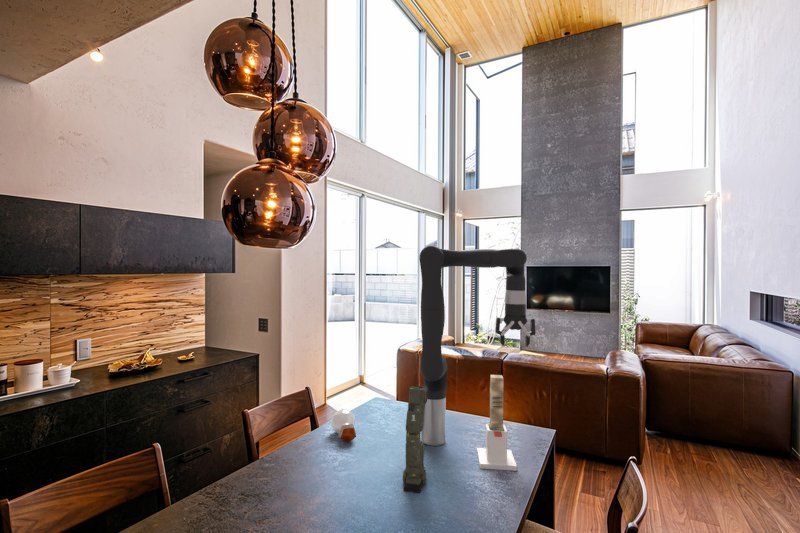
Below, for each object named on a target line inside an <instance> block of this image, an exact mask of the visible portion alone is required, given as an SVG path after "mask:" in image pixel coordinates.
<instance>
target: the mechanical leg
mask: <svg viewBox="0 0 800 533" xmlns="http://www.w3.org/2000/svg"><path fill="white" fill-rule="evenodd" d="M408 393H409V394H408V403H407V412H406V421H405V432H406V433H405V469H404V470H403V472H402V482H403V483H404V485H403V491H404V492H408V493H416V494H420V493H421V491H422V490H423V488H424V486H426V483H427V471H426V470H427V469H425V466H424V465H425V464H424V459H425V445H424V443H422V441H421V432H422V430H423V426H424V414H425V404H426V403H427V390H426V389H425V388H423V385H422V386H421V385H413V386H410V387H409V390H408Z"/></svg>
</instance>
